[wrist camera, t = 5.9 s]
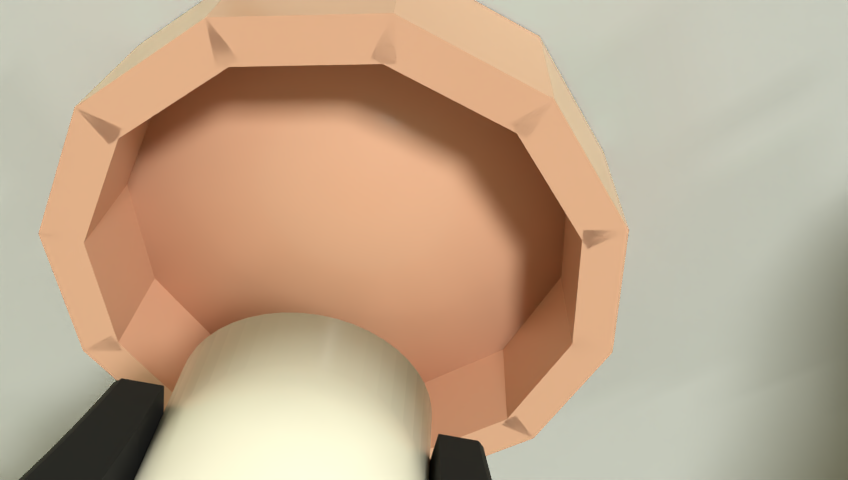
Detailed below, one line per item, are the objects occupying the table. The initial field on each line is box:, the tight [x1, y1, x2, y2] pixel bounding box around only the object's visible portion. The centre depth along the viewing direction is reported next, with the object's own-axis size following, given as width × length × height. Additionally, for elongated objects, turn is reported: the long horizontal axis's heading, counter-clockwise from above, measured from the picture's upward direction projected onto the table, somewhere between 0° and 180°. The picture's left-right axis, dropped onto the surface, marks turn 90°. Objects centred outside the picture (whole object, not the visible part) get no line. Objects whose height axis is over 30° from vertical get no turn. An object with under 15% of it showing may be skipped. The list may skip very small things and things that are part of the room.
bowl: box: [39, 0, 629, 459], centre depth 16 cm, size 11×11×3 cm
